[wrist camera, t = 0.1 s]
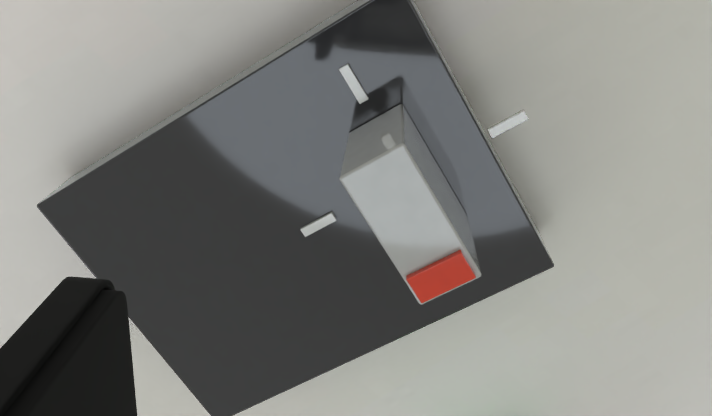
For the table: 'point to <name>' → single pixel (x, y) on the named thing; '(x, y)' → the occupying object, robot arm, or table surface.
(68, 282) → the robot arm
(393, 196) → the hob knob
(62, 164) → the table surface
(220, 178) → the panel
